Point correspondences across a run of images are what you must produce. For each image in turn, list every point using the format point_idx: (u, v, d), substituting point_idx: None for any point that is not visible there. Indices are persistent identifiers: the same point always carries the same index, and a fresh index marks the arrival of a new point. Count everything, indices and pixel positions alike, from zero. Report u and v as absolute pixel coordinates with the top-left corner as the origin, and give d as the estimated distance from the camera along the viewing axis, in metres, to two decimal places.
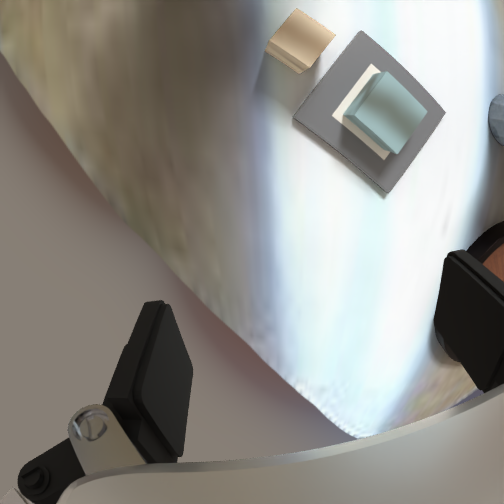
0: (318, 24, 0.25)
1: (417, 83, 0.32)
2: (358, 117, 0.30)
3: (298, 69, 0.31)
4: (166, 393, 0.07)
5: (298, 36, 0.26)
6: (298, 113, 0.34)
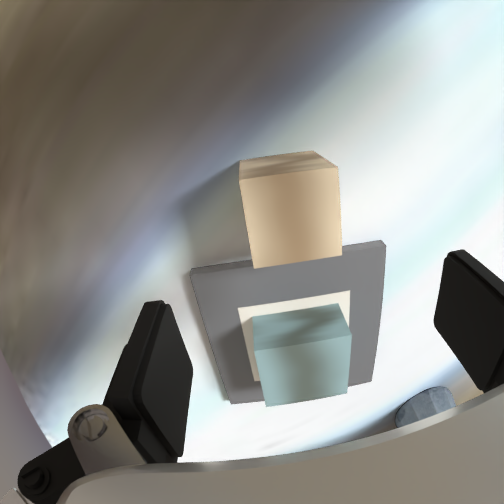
0: (337, 220, 0.16)
1: (375, 342, 0.27)
2: (256, 356, 0.21)
3: None
4: (166, 393, 0.07)
5: (289, 212, 0.16)
6: (199, 275, 0.23)
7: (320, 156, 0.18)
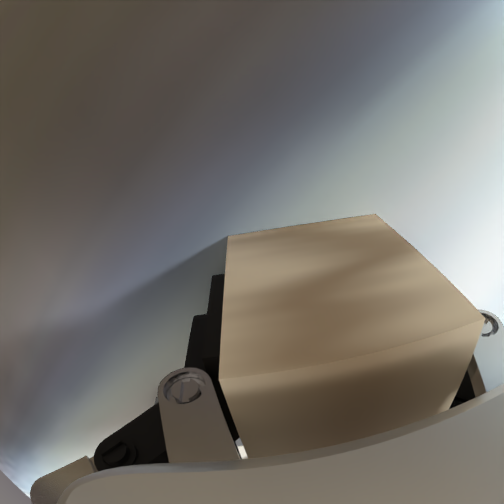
0: (443, 410, 0.06)
1: None
2: None
3: None
4: None
5: (350, 423, 0.06)
6: None
7: (409, 245, 0.08)
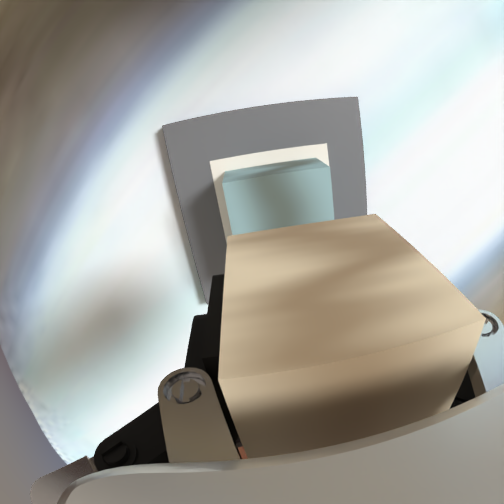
0: (443, 410, 0.06)
1: None
2: (225, 191, 0.20)
3: None
4: None
5: (350, 424, 0.05)
6: (171, 125, 0.21)
7: (409, 245, 0.08)
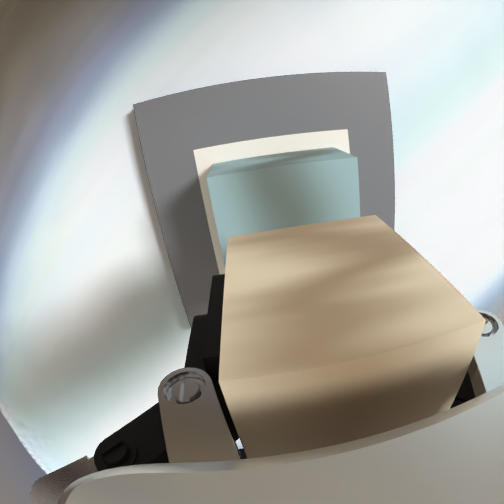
0: (443, 411, 0.06)
1: (390, 225, 0.19)
2: (211, 188, 0.14)
3: None
4: None
5: (350, 424, 0.06)
6: (144, 103, 0.16)
7: (409, 246, 0.08)
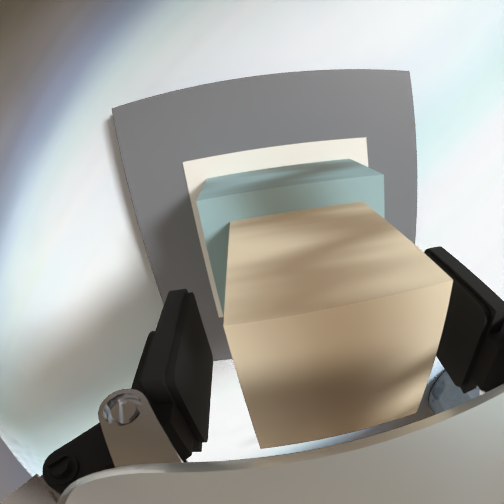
0: (425, 371, 0.07)
1: None
2: (202, 214, 0.11)
3: None
4: (193, 378, 0.08)
5: (338, 376, 0.07)
6: (125, 107, 0.13)
7: (389, 225, 0.09)
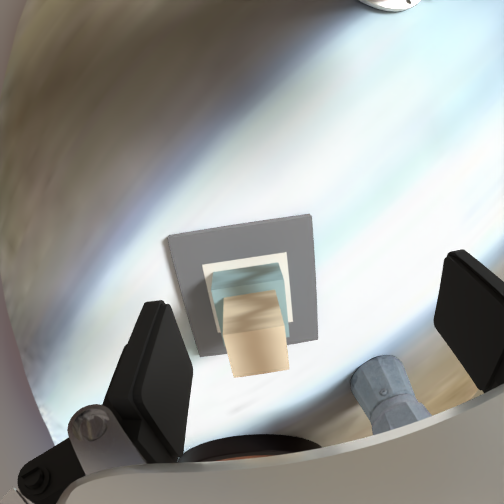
0: (285, 352, 0.26)
1: (314, 300, 0.36)
2: (213, 295, 0.30)
3: None
4: (166, 393, 0.07)
5: (254, 350, 0.25)
6: (174, 238, 0.32)
7: (277, 303, 0.28)
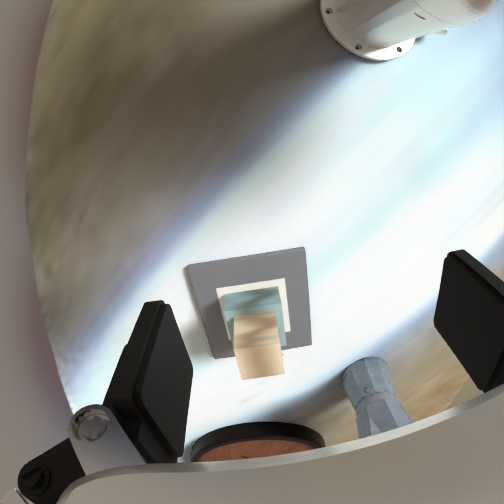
0: (281, 361, 0.33)
1: (308, 314, 0.43)
2: (225, 315, 0.38)
3: None
4: (166, 393, 0.07)
5: (257, 360, 0.33)
6: (193, 268, 0.39)
7: (276, 323, 0.35)
